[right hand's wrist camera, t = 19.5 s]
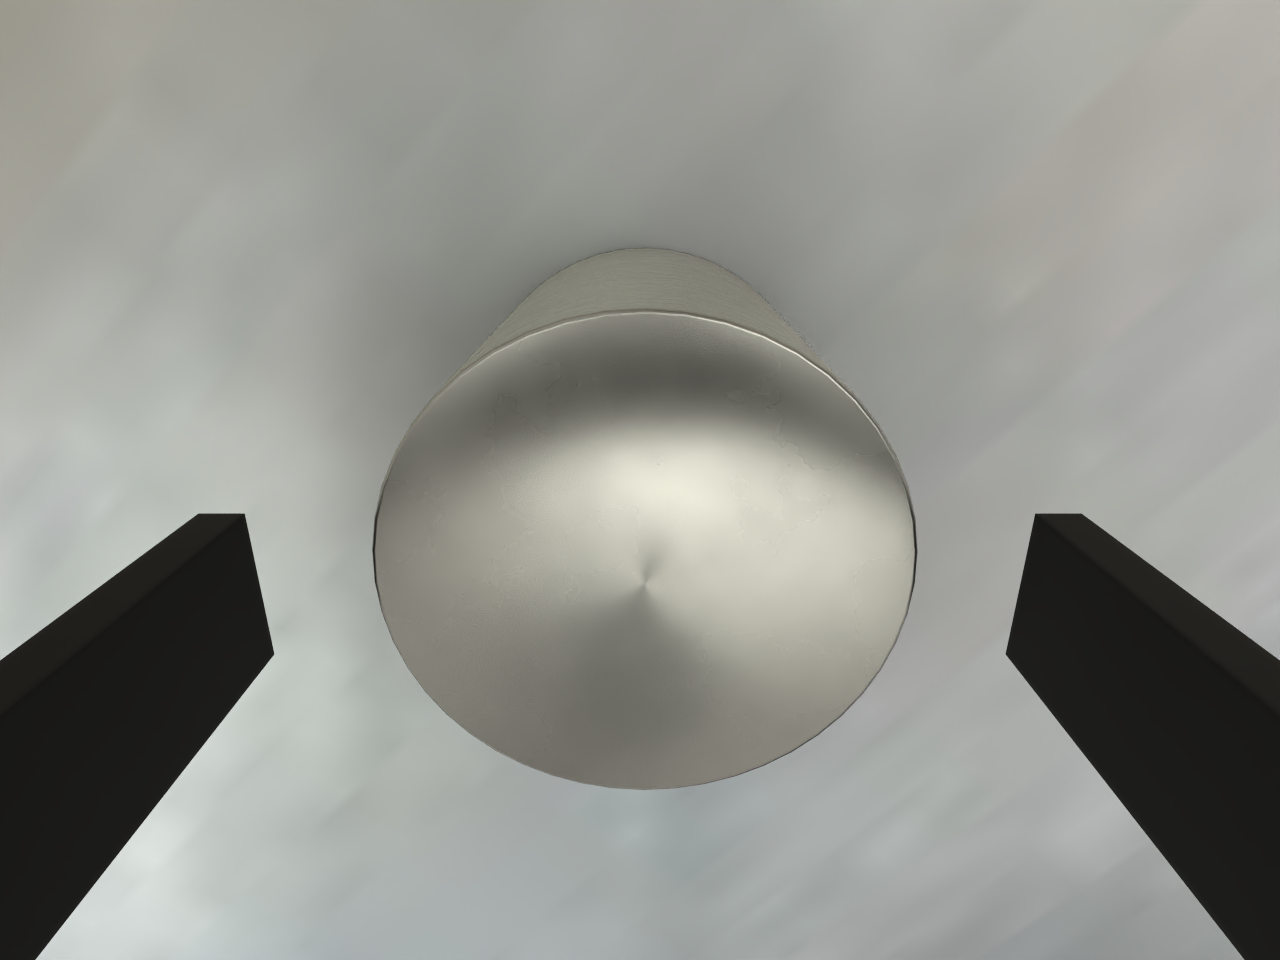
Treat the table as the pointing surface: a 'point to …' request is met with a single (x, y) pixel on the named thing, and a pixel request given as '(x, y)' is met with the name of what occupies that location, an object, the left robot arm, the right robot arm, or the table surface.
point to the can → (644, 531)
